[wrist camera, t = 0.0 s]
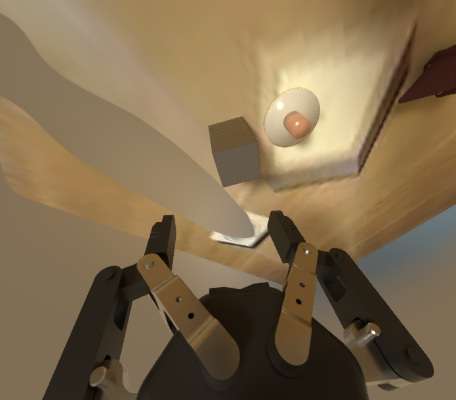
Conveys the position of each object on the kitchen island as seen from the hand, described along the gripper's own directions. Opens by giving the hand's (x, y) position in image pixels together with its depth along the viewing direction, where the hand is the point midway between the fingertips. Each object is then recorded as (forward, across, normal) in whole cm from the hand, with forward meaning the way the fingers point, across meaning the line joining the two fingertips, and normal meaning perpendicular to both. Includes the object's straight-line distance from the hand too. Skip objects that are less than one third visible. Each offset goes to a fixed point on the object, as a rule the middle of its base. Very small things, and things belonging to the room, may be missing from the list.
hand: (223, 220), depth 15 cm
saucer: (+22, -15, -4) cm, 27 cm away
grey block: (+22, -4, 0) cm, 23 cm away
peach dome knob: (+21, -15, -4) cm, 26 cm away
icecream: (+21, -37, -13) cm, 45 cm away
